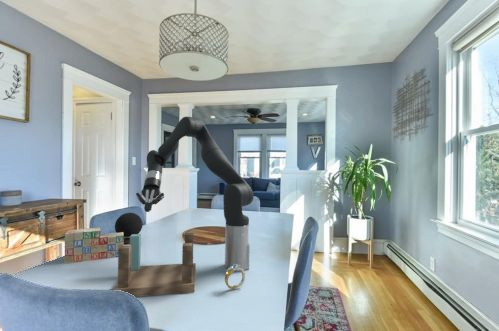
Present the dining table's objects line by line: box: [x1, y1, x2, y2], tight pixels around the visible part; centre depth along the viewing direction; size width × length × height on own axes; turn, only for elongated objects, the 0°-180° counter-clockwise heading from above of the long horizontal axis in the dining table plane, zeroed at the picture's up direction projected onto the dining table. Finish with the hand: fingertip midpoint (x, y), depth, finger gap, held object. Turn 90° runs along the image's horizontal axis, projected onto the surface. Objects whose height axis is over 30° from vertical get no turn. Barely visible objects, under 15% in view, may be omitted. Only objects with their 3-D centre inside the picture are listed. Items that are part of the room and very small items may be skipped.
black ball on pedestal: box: [114, 212, 143, 245], centre depth 134 cm, size 13×13×15 cm
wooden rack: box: [112, 232, 197, 297], centre depth 88 cm, size 24×18×14 cm
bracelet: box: [224, 264, 246, 291], centre depth 84 cm, size 7×3×8 cm, turn 114°
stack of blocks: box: [64, 227, 124, 264], centre depth 110 cm, size 21×6×12 cm, turn 116°
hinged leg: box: [129, 233, 142, 270], centre depth 93 cm, size 3×3×12 cm
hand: (147, 210), depth 115 cm, fingers closed
